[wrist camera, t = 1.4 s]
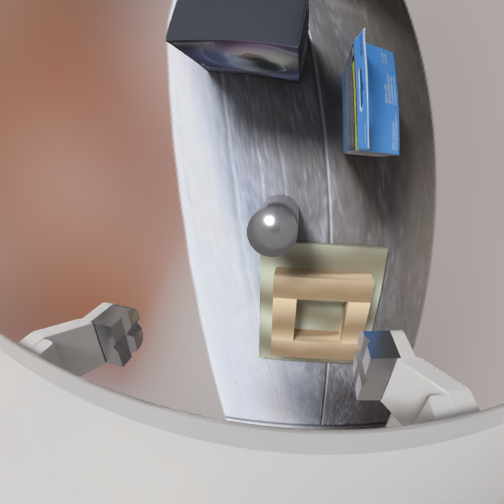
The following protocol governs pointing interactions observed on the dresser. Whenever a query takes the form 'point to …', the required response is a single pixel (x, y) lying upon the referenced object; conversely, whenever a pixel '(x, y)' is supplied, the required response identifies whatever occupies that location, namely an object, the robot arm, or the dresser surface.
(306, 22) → the small box
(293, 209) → the peg
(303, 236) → the dresser surface
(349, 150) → the label tape box
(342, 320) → the hub block
